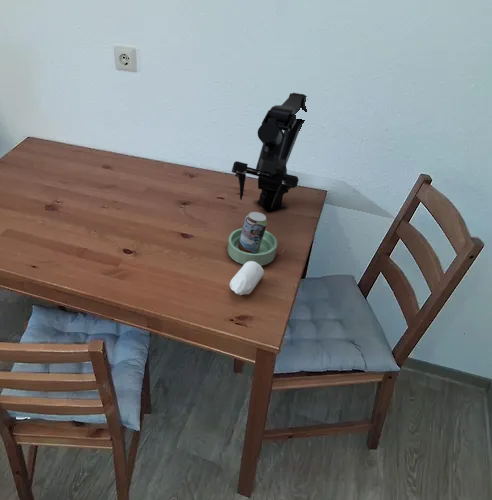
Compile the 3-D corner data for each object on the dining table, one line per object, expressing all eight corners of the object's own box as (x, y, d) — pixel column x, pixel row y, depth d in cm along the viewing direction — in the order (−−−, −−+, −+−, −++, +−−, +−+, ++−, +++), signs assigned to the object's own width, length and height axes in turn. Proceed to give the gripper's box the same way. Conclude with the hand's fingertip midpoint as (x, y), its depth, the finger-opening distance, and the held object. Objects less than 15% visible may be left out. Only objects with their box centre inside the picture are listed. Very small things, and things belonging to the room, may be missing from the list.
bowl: (259, 235, 162) (260, 223, 159) (284, 261, 152) (286, 248, 149) (219, 245, 158) (220, 233, 156) (242, 272, 148) (243, 259, 145)
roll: (223, 298, 140) (224, 282, 136) (242, 273, 148) (244, 257, 144) (244, 306, 137) (246, 290, 134) (263, 281, 145) (265, 264, 142)
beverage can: (233, 249, 156) (236, 214, 148) (252, 241, 159) (257, 206, 152) (247, 260, 151) (252, 225, 144) (267, 252, 154) (272, 217, 147)
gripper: (240, 137, 148) (225, 192, 149) (308, 154, 146) (292, 210, 147) (239, 145, 159) (224, 196, 160) (301, 160, 157) (286, 212, 158)
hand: (256, 203), depth 156 cm, fingers open, 9 cm apart
